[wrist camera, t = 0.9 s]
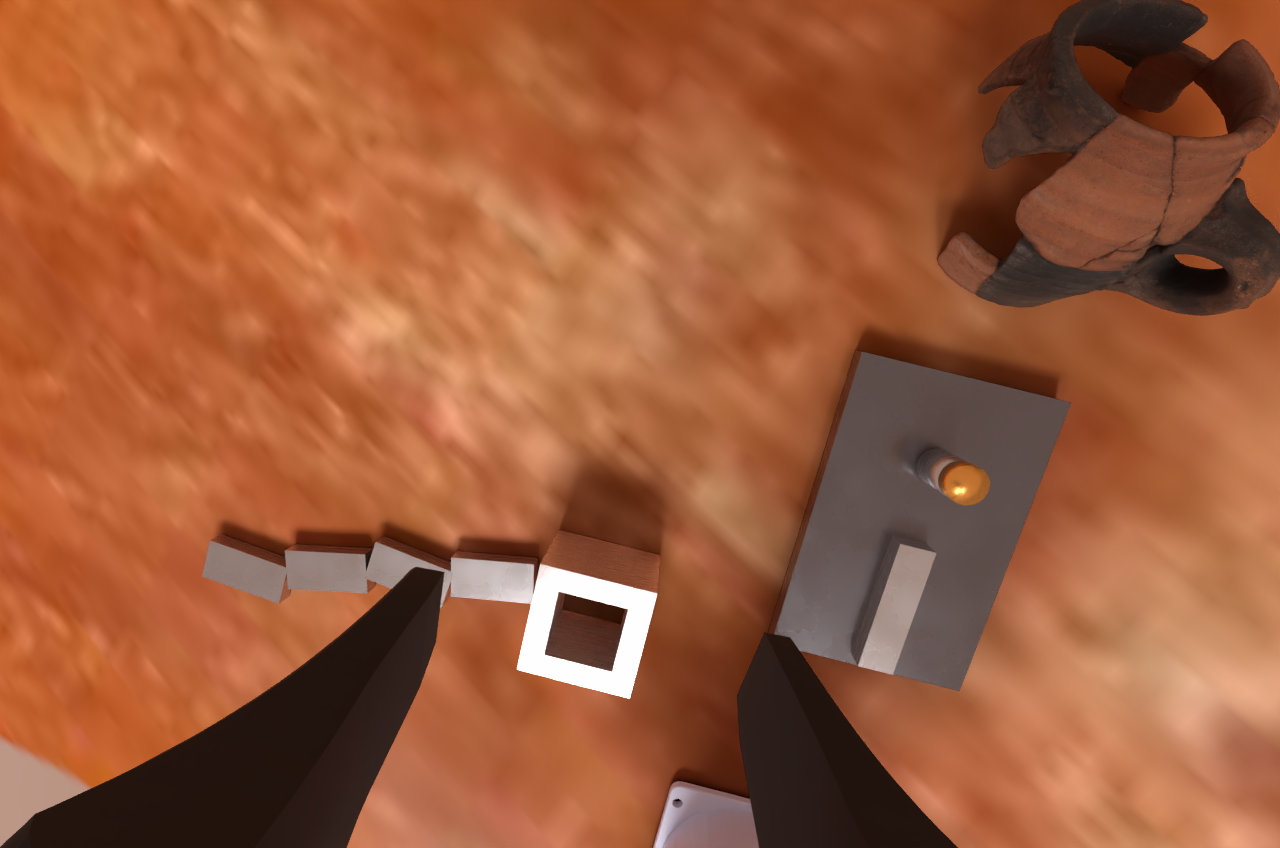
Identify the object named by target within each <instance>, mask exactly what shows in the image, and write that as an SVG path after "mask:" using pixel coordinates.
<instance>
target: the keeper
mask: <svg viewBox="0 0 1280 848" xmlns="http://www.w3.org/2000/svg"><path fill="white" fill-rule="evenodd" d="M1070 404H1071V402H1067V401H1063V400H1059V399H1054V398H1050V397H1046V396H1042V395H1038V394H1034V393H1030V392H1026V391H1022V390H1018V389H1013V388H1009V387H1005V386H1001V385H997V384H993V383H989V382H985V381H981V380H977V379H973V378H968V377H964V376H960V375H956V374H952V373H948V372H944V371H940V370H936V369H932V368H927V367H923V366H919V365H915V364H911V363H907V362H903V361H899V360H895V359H891V358H886V357H882V356H878V355H874V354H870V353H866V352H862V351H857V350H855V353H854V356H853V359H852V362H851V366H850V369H849V372H848V375H847V379H846V382H845V385H844V388H843V391H842V395H841V398H840V401H839V404H838V408H837V411H836V414H835V417H834V421H833V424H832V427H831V430H830V434H829V437H828V440H827V443H826V446H825V450H824V453H823V456H822V459H821V463H820V466H819V469H818V472H817V476H816V479H815V482H814V485H813V488H812V492H811V495H810V498H809V501H808V505H807V508H806V511H805V514H804V518H803V521H802V524H801V527H800V531H799V534H798V537H797V540H796V543H795V547H794V550H793V553H792V556H791V560H790V563H789V566H788V569H787V573H786V576H785V579H784V582H783V586H782V589H781V592H780V595H779V598H778V602H777V605H776V608H775V611H774V615H773V618H772V621H771V624H770V628H769V631H768V633H770V634H775V635H780V636H786V637H790V638H791V639H792V641H793V642H794V643H795V645H796V646H797V648H798V649H799V651H803V652H807V653H811V654H815V655H819V656H823V657H827V658H830V659H834V660H838V661H842V662H846V663H850V664H854V665H858V666H860V667H863V668H867V669H871V670H875V671H879V672H883V673H887V674H891V675H893V674H894V675H898V676H902V677H906V678H909V679H913V680H917V681H921V682H925V683H929V684H933V685H937V686H941V687H945V688H949V689H953V690H957V691H960V688H961V686H962V683H963V681H964V678H965V675H966V673H967V670H968V668H969V665H970V663H971V660H972V657H973V655H974V652H975V650H976V647H977V644H978V642H979V639H980V637H981V634H982V632H983V629H984V626H985V624H986V621H987V619H988V616H989V613H990V611H991V608H992V606H993V603H994V601H995V598H996V595H997V593H998V590H999V588H1000V585H1001V582H1002V580H1003V577H1004V575H1005V572H1006V570H1007V567H1008V564H1009V562H1010V559H1011V557H1012V554H1013V551H1014V549H1015V546H1016V544H1017V541H1018V539H1019V536H1020V533H1021V531H1022V528H1023V526H1024V523H1025V520H1026V518H1027V515H1028V513H1029V510H1030V508H1031V505H1032V502H1033V500H1034V497H1035V495H1036V492H1037V489H1038V487H1039V484H1040V482H1041V479H1042V477H1043V474H1044V471H1045V469H1046V466H1047V464H1048V461H1049V458H1050V456H1051V453H1052V451H1053V448H1054V446H1055V443H1056V440H1057V438H1058V435H1059V433H1060V430H1061V427H1062V425H1063V422H1064V420H1065V417H1066V415H1067V412H1068V409H1069V407H1070Z"/></svg>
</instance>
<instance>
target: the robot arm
mask: <svg viewBox="0 0 1280 848" xmlns="http://www.w3.org/2000/svg"><path fill="white" fill-rule="evenodd" d="M444 573H445V572H442V571H437V570H431V569H426V568H421V567H414V568H413V569H411V570H410V571H409V572H408V573H407V574H406V575H405V576H404V577H403V578H402V579H401V580H400V581H399V582H398V583H397V584H396V585H395V586H394V587H393V588H392V589H391V590H390V591H389V592H388V593H387V594H386V595H385V596H384V597H383V598H382V599H381V600H379V601H378V602H377V603H376V604H375V605H374V606H373V607H372V608H371V609H370V610H369V611H368V612H366V613H365V614H364V615H363V616H362V617H361V618H360V619H358V620H357V621H356V622H355V623H354V624H353V625H352V626H350V627H349V628H348V629H347V630H346V631H345V632H344V633H342V634H341V635H340V636H339V637H338V638H336V639H335V640H334V641H333V642H331V643H330V644H329V645H328V646H326V647H325V648H324V649H322V650H321V651H320V652H319V653H317V654H316V655H315V656H314V657H312V658H311V659H310V660H309V661H307V662H306V663H305V664H303V665H302V666H301V667H299V668H298V669H297V670H295V671H294V672H293V673H291V674H290V675H288V676H287V677H286V678H284V679H283V680H281V681H280V682H279V683H277V684H276V685H274V686H273V687H271V688H270V689H268V690H267V691H265V692H264V693H262V694H261V695H260V696H258V697H257V698H255V699H253V700H252V701H250V702H249V703H247V704H246V705H244V706H242V707H241V708H239V709H238V710H236V711H234V712H233V713H231V714H230V715H228V716H226V717H225V718H223V719H222V720H220V721H218V722H217V723H215V724H213V725H212V726H210V727H208V728H207V729H205V730H203V731H201V732H200V733H198V734H196V735H195V736H193V737H191V738H189V739H187V740H185V741H184V742H182V743H180V744H178V745H176V746H174V747H172V748H171V749H169V750H167V751H165V752H163V753H161V754H159V755H158V756H156V757H154V758H152V759H150V760H148V761H146V762H145V763H143V764H141V765H139V766H137V767H135V768H133V769H131V770H129V771H127V772H125V773H123V774H121V775H119V776H117V777H115V778H113V779H111V780H109V781H106V782H104V783H102V784H100V785H98V786H96V787H94V788H91V789H89V790H87V791H85V792H83V793H81V794H78V795H77V796H74V797H72V798H70V799H68V800H66V801H63V802H61V803H59V804H57V805H55V806H53V807H50V808H48V809H46V810H43V811H41V812H39V813H36V814H35V815H34V816H33V817H32V818H31V819H30V820H29V821H28V822H27V823H26V824H25V825H24V826H23V827H21V828H20V829H19V830H18V831H17V832H16V833H15V834H14V835H13V836H12V837H10V838H9V839H8V840H7V841H6V842H5V843H4V844H3V845H2V846H1V847H0V848H346V847H347V845H348V842H349V840H350V837H351V834H352V832H353V829H354V827H355V824H356V821H357V819H358V816H359V814H360V812H361V809H362V807H363V805H364V803H365V800H366V798H367V796H368V793H369V791H370V789H371V787H372V785H373V783H374V781H375V779H376V777H377V775H378V773H379V771H380V768H381V766H382V764H383V762H384V760H385V758H386V756H387V754H388V752H389V750H390V748H391V746H392V744H393V742H394V740H395V738H396V736H397V733H398V731H399V729H400V727H401V725H402V723H403V721H404V719H405V717H406V715H407V713H408V711H409V709H410V706H411V704H412V702H413V700H414V698H415V696H416V694H417V692H418V690H419V688H420V685H421V682H422V679H423V677H424V674H425V671H426V668H427V666H428V663H429V660H430V657H431V654H432V651H433V648H434V646H435V643H436V636H437V628H438V620H439V612H440V604H441V596H442V589H443V581H444ZM737 704H738V723H739V737H740V746H741V752H742V758H743V763H744V769H745V774H746V780H747V785H748V791H749V796H750V799H748V798H744V797H740V796H737V795H733V794H729V793H725V792H721V791H717V790H713V789H709V788H706V787H702V786H698V785H694V784H690V783H686V782H682V781H677V782H674V783H673V784H672V785H671V787H670V790H669V794H668V797H667V801H666V804H665V807H664V811H663V814H662V818H661V821H660V825H659V828H658V832H657V835H656V838H655V842H654V845H653V848H958V847H957V846H956V845H955V844H954V843H953V842H952V841H951V840H950V839H949V838H948V837H947V836H946V835H945V834H944V833H943V832H942V831H941V830H940V829H939V828H938V827H937V826H936V825H935V824H934V823H933V822H932V821H931V820H930V819H929V818H928V817H927V816H926V815H925V814H924V813H923V812H922V811H921V809H920V808H919V807H918V806H917V805H916V804H915V803H914V802H913V800H912V799H911V798H910V797H909V796H908V795H907V794H906V793H905V791H904V790H903V789H902V788H901V787H900V786H899V785H898V784H897V782H896V781H895V780H894V779H893V778H892V777H891V775H890V774H889V773H888V772H887V771H886V769H885V768H884V767H883V766H882V765H881V763H880V762H879V761H878V759H877V758H876V757H875V756H874V754H873V753H872V752H871V751H870V749H869V748H868V747H867V746H866V744H865V743H864V742H863V740H862V739H861V738H860V736H859V735H858V734H857V732H856V731H855V730H854V728H853V727H852V726H851V724H850V723H849V722H848V720H847V719H846V718H845V716H844V715H843V713H842V712H841V711H840V709H839V708H838V706H837V705H836V704H835V702H834V701H833V699H832V698H831V696H830V695H829V694H828V692H827V691H826V689H825V688H824V686H823V685H822V683H821V682H820V680H819V679H818V677H817V676H816V674H815V673H814V672H813V670H812V669H811V667H810V666H809V664H808V663H807V661H806V660H805V658H804V657H803V655H802V654H801V652H800V651H799V649H798V648H797V646H796V645H795V643H794V642H793V641H792V639H791V638H790V637H786V636H780V635H775V634H770V633H765V632H764V635H763V637H762V639H761V642H760V644H759V646H758V649H757V651H756V653H755V655H754V658H753V660H752V662H751V665H750V667H749V669H748V671H747V674H746V676H745V678H744V681H743V683H742V685H741V688H740V690H739V692H738V694H737ZM675 799H680V800H681V801H674V800H675Z"/></svg>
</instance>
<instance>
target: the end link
mask: <svg viewBox="0 0 1280 848" xmlns="http://www.w3.org/2000/svg"><path fill="white" fill-rule="evenodd" d="M659 565H660V555H658V554H654V553H650V552H646V551H642V550H638V549H634V548H630V547H626V546H622V545H618V544H614V543H610V542H606V541H602V540H598V539H595V538H591V537H587V536H583V535H579V534H575V533H571V532H567V531H563V530H559V531H558V533H557V534H556V536H555V538H554V540H553V542H552V543H551V545H550V547H549V549H548V551H547V553H546V554H545V556H544V558H543V560H542V562H541V563H540V567H539V572H538V576H537V581H536V585H535V590H534V594H533V599H532V603H531V608H530V612H529V617H528V622H527V626H526V631H525V635H524V640H523V644H522V649H521V653H520V658H519V662H518V667H517V670H521V671H524V672H528V673H532V674H536V675H540V676H544V677H548V678H552V679H556V680H560V681H564V682H567V683H571V684H575V685H579V686H583V687H587V688H591V689H595V690H599V691H603V692H607V693H610V694H614V695H618V696H622V697H626V698H630V695H631V691H632V688H633V684H634V680H635V676H636V673H637V669H638V665H639V661H640V657H641V654H642V650H643V646H644V642H645V639H646V635H647V631H648V627H649V624H650V620H651V616H652V612H653V608H654V605H655V601H656V597H657V593H658V579H659ZM565 594H570V595H574V596H578V597H582V598H586V599H590V600H594V601H598V602H602V603H605V604H609V605H613V606H617V607H621V608H625V611H624V614H623V618H622V622H621V624H618V623H614V622H611V621H607V620H603V619H599V618H595V617H591V616H587V615H583V614H579V613H575V612H571V611H567V610H563V609H562V607H563V603H564V598H565Z"/></svg>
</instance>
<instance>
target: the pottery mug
mask: <svg viewBox="0 0 1280 848" xmlns="http://www.w3.org/2000/svg"><path fill="white" fill-rule="evenodd" d="M1207 20H1208V17H1207V15H1205V14H1203V13H1202V12H1201V11H1200V9H1198V8H1197V7H1195V6H1194V5H1192V4H1189V3H1185V2H1183V1H1181V0H1081V1H1080V2H1078V3H1075V4H1074V5H1072V6H1070V7H1068V8H1067V9H1066V10H1065V11H1063V12H1062V13H1061V14H1060V15H1059V17H1058V19H1057V20H1056V22H1055V24H1054V26H1053V28H1052V30H1051V32H1049V33H1047V34H1044V35H1042V36H1039V37H1037V38H1035V39H1032V40H1030V41H1028V42H1027V43H1025V44H1024V45H1022V46H1021V47H1020V48H1019V49H1018V50H1017V51H1016V52H1015V53H1014V54H1012V55H1011V56H1010V57H1009V58H1007V59H1006V60H1005V61H1004V62H1003V63H1002V64H1001V65H1000V66H998V67H997V68H996V69H995V70H994V71H992V73H991V74H990V75H989V76H988V77H987V78H986V79H985V80H984V81H983V82H982V84H981V85H980V86H979V87H978V92H979V93H980V94H986V93H988V92H990V91H992V90H995V89H997V88H1000V87H1004V86H1017V85H1021V86H1020V87H1019V88H1017V89H1016V90H1015V91H1014V92H1012V93H1011V94H1010V95H1009V97H1008V98H1007V100H1006V101H1005V102H1004V103H1003V105H1002V106H1001V108H1000V110H999V112H998V115H997V118H996V121H995V124H994V126H993V127H992V129H991V130H990V131H989V132H988V133H987V134H986V136H985V138H984V140H983V145H982V146H983V154H984V160H985V163H986V165H987V167H988V168H989V169H996V168H999V167H1000V166H1002V165H1004V164H1005V163H1006V162H1008V161H1009V160H1011V159H1012V158H1013V157H1014V156H1027V155H1033V154H1039V153H1046V152H1054V153H1072V156H1071V157H1070V158H1069V159H1068V160H1067V161H1066V162H1064V163H1063V164H1062V165H1061V166H1060V167H1059V168H1058V169H1057V170H1056V171H1055V172H1054V173H1052V174H1051V175H1050V176H1049V177H1048V178H1046V179H1045V180H1044V181H1043V182H1041V183H1040V184H1039V185H1038V186H1036V187H1035V188H1034V189H1032V190H1030V191H1029V192H1027V193H1026V194H1025V195H1024V196H1023V197H1022V198H1021V200H1020V205H1019V206H1018V208H1017V211H1016V217H1015V221H1016V223H1017V225H1018V227H1019V229H1020V230H1021V231H1022V233H1023V234H1024V236H1023V237H1021V238H1020V239H1019V240H1018V241H1017V243H1016V244H1015V247H1014V249H1013V250H1012V251H1011V253H1010V254H1009V255H1008V257H1006V258H1004V259H1002V260H1000V259H998V258H997V257H995V256H994V255H992V254H991V253H989V252H987V251H986V250H985V249H984V248H983V247H981V246H980V245H979V244H978V243H977V242H976V241H975V240H974V239H973V238H972V237H971V236H970V235H969V234H968V233H966V232H959V233H958V234H956V235H955V236H954V237H953V238H952V239H951V240H950V241H949V243H948V246H947V248H946V249H944V251H943V252H942V253H941V254H940V255H939V257H938V258H937V261H938V264H939V266H940V267H941V268H942V269H943V270H944V272H945V273H946V274H947V275H948V276H949V277H950V278H951V279H953V280H954V281H955V282H956V283H957V284H959V285H960V286H962V287H964V288H965V289H967V290H968V291H970V292H972V293H975V294H976V295H977V296H979V297H981V298H983V299H986V300H988V301H992V302H994V303H997V304H1000V305H1006V306H1014V307H1033V306H1038V305H1042V304H1045V303H1049V302H1052V301H1054V300H1057V299H1061V298H1066V297H1070V296H1074V295H1080V294H1085V293H1089V292H1091V291H1094V290H1103V289H1107V290H1113V291H1119V292H1123V293H1126V294H1128V295H1132V296H1133V297H1135V298H1138V299H1140V300H1142V301H1144V302H1146V303H1149V304H1151V305H1153V306H1156V307H1159V308H1162V309H1165V310H1168V311H1172V312H1176V313H1181V314H1188V315H1200V316H1203V315H1215V314H1221V313H1225V312H1229V311H1232V310H1235V309H1245V308H1248V307H1249V305H1250V304H1251V303H1252V302H1253V301H1254V300H1255V299H1258V298H1260V297H1263V296H1265V295H1266V294H1268V293H1269V292H1270V291H1271V289H1272V288H1273V287H1274V285H1275V283H1276V281H1277V280H1278V279H1279V277H1280V234H1279V233H1278V231H1277V230H1276V229H1275V227H1274V226H1273V225H1272V224H1271V222H1269V221H1268V220H1267V219H1266V218H1265V217H1264V216H1263V215H1262V214H1261V213H1260V212H1259V211H1258V210H1257V209H1256V208H1255V207H1254V206H1253V205H1252V204H1251V203H1250V201H1249V199H1248V197H1247V194H1246V191H1245V184H1244V182H1243V180H1242V179H1240V178H1236V176H1237V175H1238V174H1239V172H1240V170H1241V168H1240V167H1241V166H1243V165H1244V162H1245V158H1246V156H1247V154H1248V153H1250V152H1251V151H1253V150H1255V149H1257V148H1259V147H1260V146H1261V145H1262V144H1264V143H1265V142H1266V141H1267V139H1269V138H1270V137H1271V136H1272V134H1273V133H1274V132H1275V128H1276V126H1277V125H1278V122H1279V118H1280V90H1279V85H1278V83H1277V82H1276V80H1275V79H1274V74H1273V72H1272V71H1271V69H1270V67H1269V66H1268V64H1267V63H1266V61H1265V60H1264V58H1263V57H1262V56H1261V54H1260V53H1259V52H1258V50H1257V49H1255V47H1254V46H1253V45H1251V44H1250V43H1249V42H1248V41H1246V40H1244V39H1242V40H1239V41H1237V42H1235V43H1233V44H1232V45H1231V46H1230V47H1229V48H1228V49H1227V50H1225V51H1224V52H1223V53H1222V54H1221V55H1220V56H1219V57H1218V58H1217V59H1215V60H1211V59H1210V58H1208V57H1207V56H1206V55H1205V54H1203V53H1202V52H1200V51H1198V50H1197V49H1195V48H1192V47H1190V46H1188V45H1186V44H1184V43H1182V41H1184V40H1185V39H1187V38H1188V37H1190V36H1191V35H1193V34H1194V33H1195V32H1196V31H1198V30H1199V29H1200V28H1202V27H1203V26H1204V25H1205V24H1206V23H1207ZM1076 45H1083V46H1095V47H1097V48H1099V49H1102V50H1104V51H1106V52H1107V53H1109V54H1110V55H1112V56H1114V57H1115V58H1116V59H1118V60H1121V61H1122V62H1123V63H1125V64H1126V65H1128V66H1130V67H1132V70H1131V72H1130V73H1129V75H1128V77H1127V80H1126V84H1125V87H1124V90H1123V92H1122V97H1121V99H1122V101H1123V102H1125V103H1127V104H1129V105H1132V106H1134V107H1136V108H1138V109H1142V110H1145V111H1149V112H1155V113H1159V112H1162V111H1164V110H1166V109H1168V108H1169V107H1170V106H1172V105H1173V104H1174V103H1175V101H1176V100H1177V98H1178V96H1179V94H1180V93H1181V91H1182V90H1183V89H1184V88H1185V87H1187V86H1188V85H1189V84H1190V83H1191V82H1193V81H1194V82H1195V83H1196V84H1197V85H1198V86H1200V87H1201V88H1202V89H1203V90H1204V91H1205V92H1206V93H1207V94H1208V96H1209V97H1210V98H1211V99H1212V101H1213V102H1214V103H1215V104H1216V105H1217V107H1218V108H1219V109H1220V111H1221V114H1222V115H1223V116H1224V118H1225V123H1226V127H1227V131H1228V134H1226V135H1223V136H1217V137H1204V138H1198V137H1186V136H1172V135H1171V134H1169V133H1167V132H1163V131H1159V130H1156V129H1153V128H1151V127H1149V126H1146V125H1144V124H1141V123H1139V122H1137V121H1135V120H1132V119H1131V118H1129V117H1127V116H1126V115H1123V114H1119V113H1117V112H1116V111H1115V109H1114V108H1113V107H1112V106H1111V105H1109V104H1108V103H1107V102H1106V101H1105V100H1104V99H1103V98H1102V97H1101V96H1100V95H1099V94H1097V93H1096V92H1095V91H1094V90H1093V89H1092V87H1091V86H1090V85H1089V83H1088V82H1087V81H1086V79H1085V77H1084V76H1083V74H1082V72H1081V70H1080V68H1079V66H1078V64H1077V61H1076V59H1075V56H1074V46H1076ZM1174 254H1190V255H1197V256H1201V257H1204V258H1207V259H1210V260H1212V261H1214V262H1216V263H1217V264H1219V265H1221V266H1222V267H1223V268H1221V269H1200V268H1194V267H1189V266H1186V265H1184V264H1181V263H1180V262H1179V261H1178V260H1177V259H1176V258H1175V257H1174Z"/></svg>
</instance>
